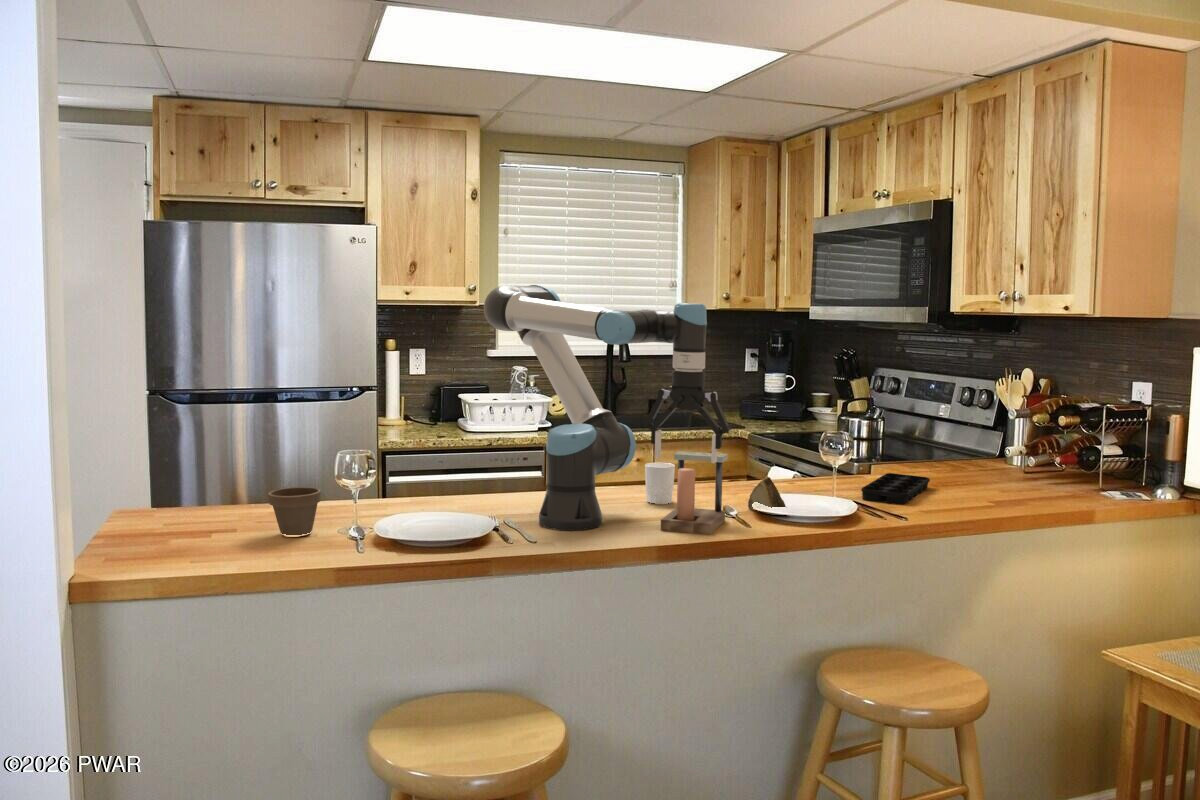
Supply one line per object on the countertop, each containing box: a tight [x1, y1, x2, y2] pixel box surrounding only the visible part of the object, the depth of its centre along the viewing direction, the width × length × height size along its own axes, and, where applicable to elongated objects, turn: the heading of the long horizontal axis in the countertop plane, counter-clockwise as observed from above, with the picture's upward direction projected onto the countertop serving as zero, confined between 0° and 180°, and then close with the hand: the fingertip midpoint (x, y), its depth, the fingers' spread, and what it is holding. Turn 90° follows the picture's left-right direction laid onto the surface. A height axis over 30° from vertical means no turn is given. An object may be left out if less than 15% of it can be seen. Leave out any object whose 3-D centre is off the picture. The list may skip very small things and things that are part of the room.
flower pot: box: [267, 486, 322, 535], centre depth 225 cm, size 12×11×10 cm
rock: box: [747, 475, 787, 513], centre depth 254 cm, size 11×9×10 cm
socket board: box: [660, 507, 726, 535], centre depth 238 cm, size 12×15×2 cm
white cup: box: [644, 462, 676, 505], centre depth 264 cm, size 8×8×10 cm
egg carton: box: [860, 472, 931, 505], centre depth 278 cm, size 18×30×4 cm, turn 162°
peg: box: [676, 467, 696, 521], centre depth 235 cm, size 4×4×14 cm
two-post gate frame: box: [673, 450, 728, 512], centre depth 243 cm, size 12×5×14 cm, turn 71°
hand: (685, 460), depth 234 cm, fingers open, 13 cm apart
